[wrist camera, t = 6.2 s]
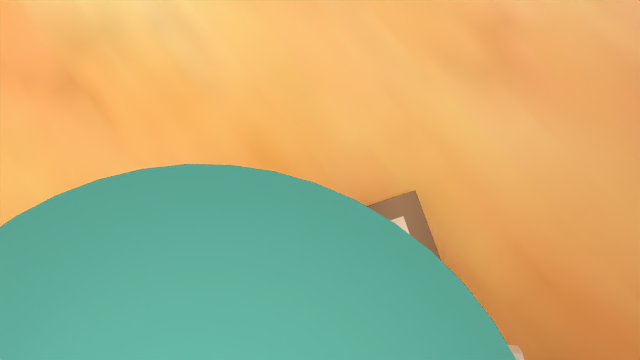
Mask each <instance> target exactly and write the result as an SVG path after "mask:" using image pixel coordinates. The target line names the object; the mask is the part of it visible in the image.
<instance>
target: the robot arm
mask: <svg viewBox="0 0 640 360" xmlns="http://www.w3.org/2000/svg"><path fill="white" fill-rule="evenodd" d="M507 345H508V347H509V348H510V350H511V352H512V353H513V355H514V357H515V358H516V360H525V359H524V355H523V352H522V350H521V349H520V348H519V346H518V345H510V344H507Z"/></svg>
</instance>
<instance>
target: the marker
mask: <svg viewBox="0 0 640 360" xmlns="http://www.w3.org/2000/svg"><path fill="white" fill-rule="evenodd" d="M0 360H516V358H515V357H514V355H513V353H512V352H511V350H510V348H509V347H508V345H507V343H506V342H505V340H504V338H503V336H502V335H501V333H500V331H499V330H498V328H497V326H496V325H495V323H494V322H493V320H492V319H491V318H490V317H489V315H488V314H487V313H486V311H485V310H484V309H483V308H482V306H481V305H480V304H479V302H478V301H477V300H476V299H475V297H474V296H473V295H472V293H471V292H470V291H469V290H468V288H467V287H466V286H465V284H464V283H463V282H462V281H461V280H460V279H459V278H458V277H457V276H456V275H455V274H454V273H453V272H452V271H451V270H450V269H449V268H448V267H447V266H446V265H445V264H444V263H443V262H442V261H441V260H440V259H439V258H438V257H437V256H436V255H435V254H434V253H433V252H432V251H430V250H429V249H428V248H426V247H425V246H424V245H423V244H421V243H420V242H419V241H417V240H416V239H415V238H413V237H412V236H411V235H410V234H408V233H407V232H406V231H404V230H403V229H402V228H401V227H399V226H398V225H397V224H395V223H394V222H392V221H390V220H389V219H387V218H385V217H384V216H382V215H380V214H378V213H377V212H375V211H373V210H372V209H370V208H368V207H367V206H365V205H363V204H361V203H360V202H358V201H356V200H354V199H352V198H349V197H347V196H345V195H342V194H340V193H337V192H335V191H333V190H330V189H328V188H326V187H323V186H321V185H319V184H316V183H313V182H310V181H306V180H302V179H299V178H295V177H292V176H288V175H285V174H281V173H278V172H274V171H268V170H261V169H254V168H247V167H240V166H233V165H200V164H184V165H175V166H166V167H157V168H148V169H141V170H136V171H132V172H128V173H124V174H120V175H116V176H111V177H107V178H103V179H99V180H96V181H93V182H91V183H88V184H85V185H83V186H80V187H77V188H75V189H72V190H69V191H67V192H64V193H61V194H59V195H56V196H54V197H52V198H50V199H48V200H46V201H44V202H43V203H41V204H39V205H37V206H35V207H33V208H31V209H29V210H27V211H25V212H23V213H21V214H20V215H18V216H16V217H14V218H13V219H11V220H10V221H8V222H7V223H5V224H4V225H2V226H1V227H0Z"/></svg>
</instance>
